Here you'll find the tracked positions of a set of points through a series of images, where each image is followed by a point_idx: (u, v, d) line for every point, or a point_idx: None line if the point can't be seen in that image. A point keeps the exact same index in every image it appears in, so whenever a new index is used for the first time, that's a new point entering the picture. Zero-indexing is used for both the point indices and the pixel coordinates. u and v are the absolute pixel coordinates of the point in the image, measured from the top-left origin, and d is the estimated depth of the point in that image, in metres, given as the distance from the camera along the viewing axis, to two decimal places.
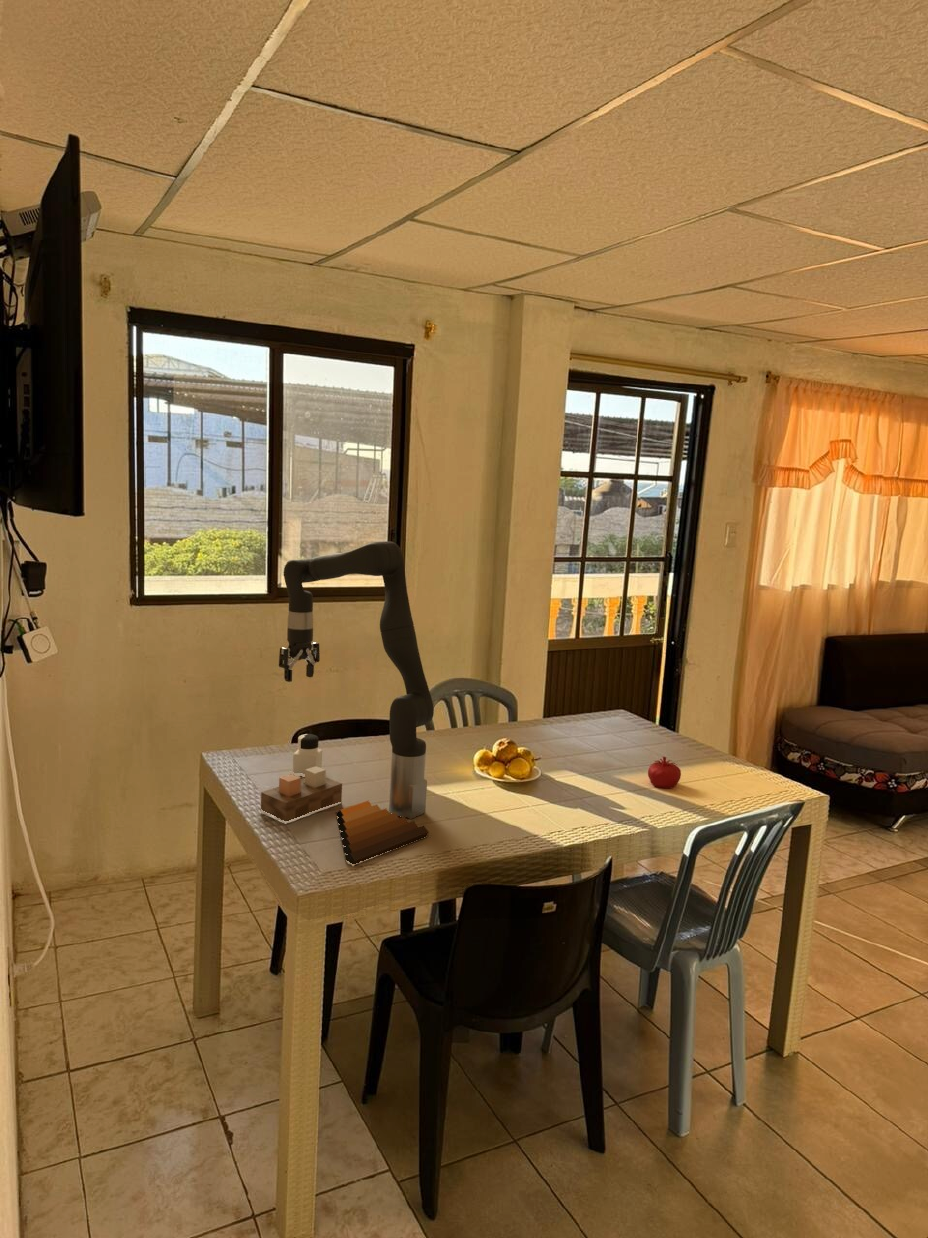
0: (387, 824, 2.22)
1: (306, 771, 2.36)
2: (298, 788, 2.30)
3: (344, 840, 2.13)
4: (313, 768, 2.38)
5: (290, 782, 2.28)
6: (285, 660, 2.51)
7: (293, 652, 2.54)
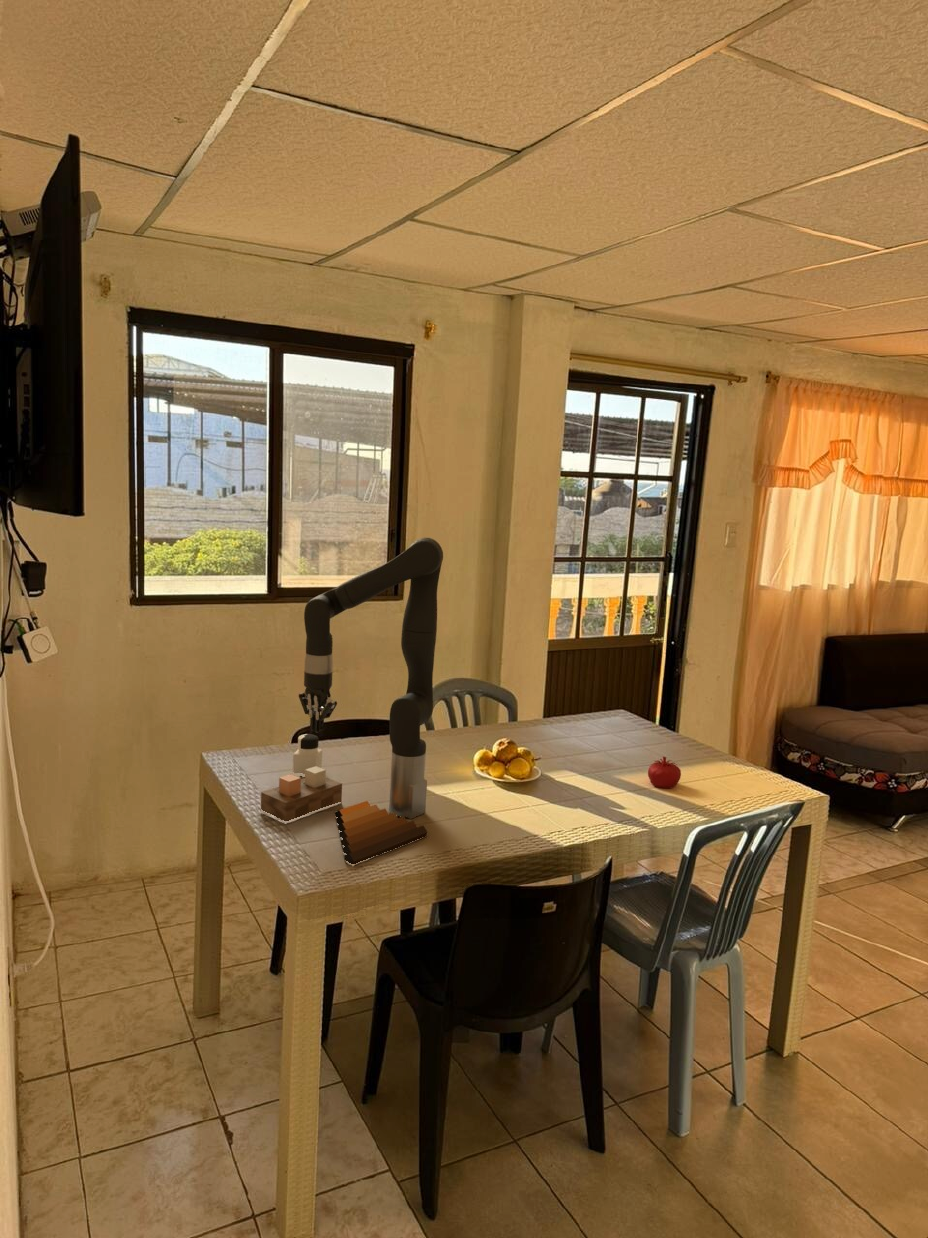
0: (386, 824, 2.22)
1: (306, 771, 2.36)
2: (298, 788, 2.30)
3: (343, 840, 2.13)
4: (313, 768, 2.38)
5: (290, 782, 2.28)
6: None
7: None
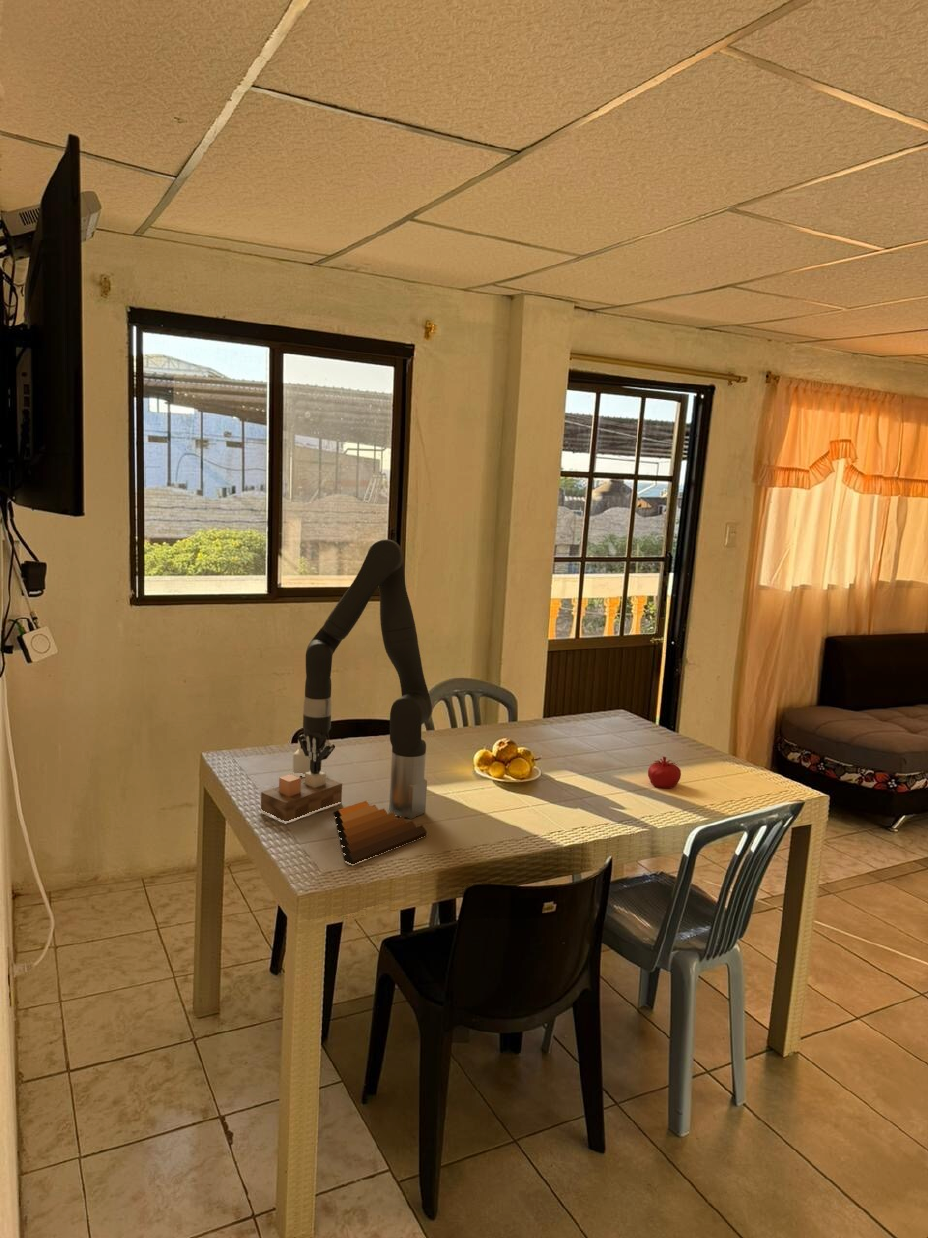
0: (385, 824, 2.22)
1: (306, 774, 2.37)
2: (298, 788, 2.30)
3: (342, 840, 2.13)
4: None
5: (290, 782, 2.28)
6: None
7: None
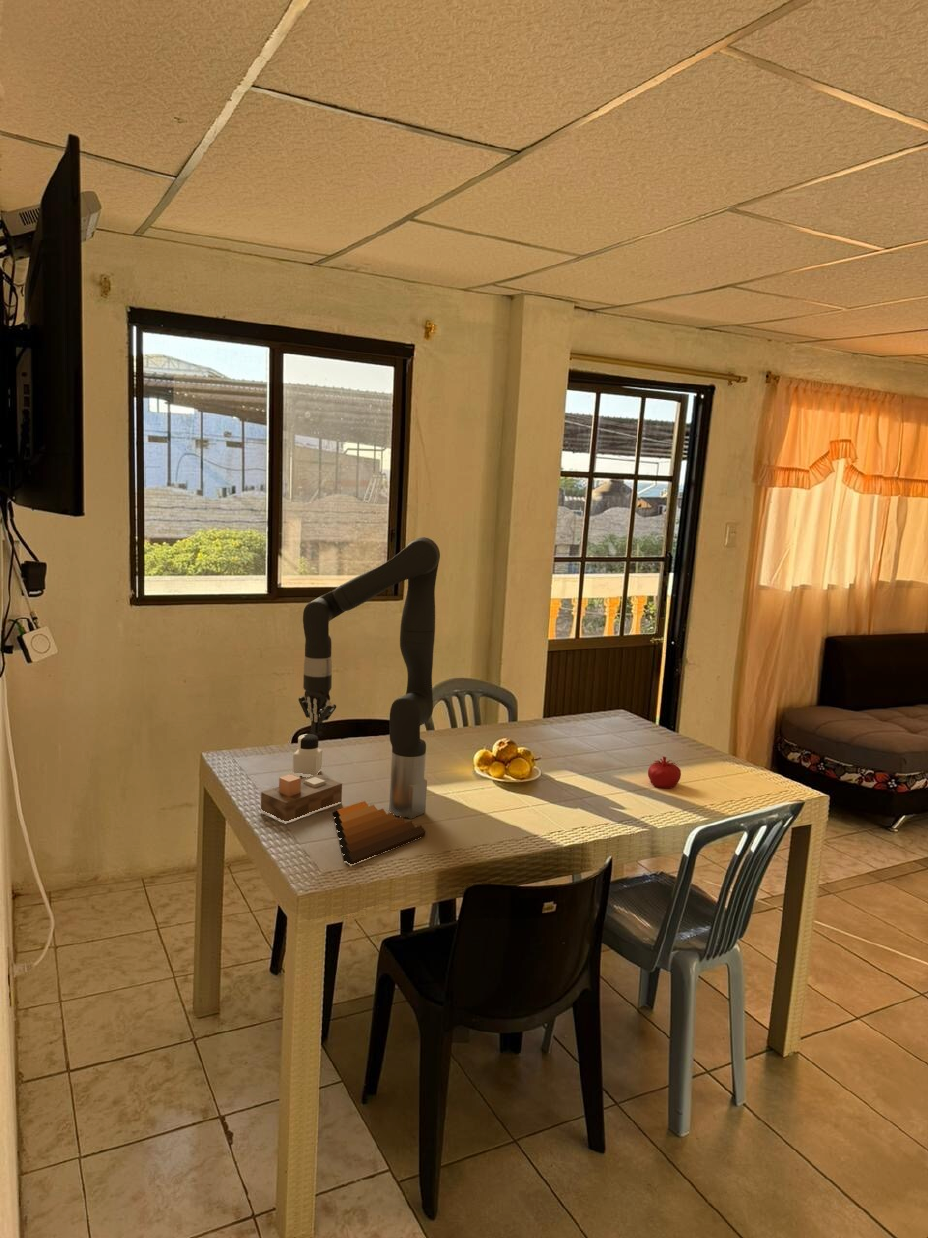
0: (384, 824, 2.22)
1: (306, 782, 2.37)
2: (298, 788, 2.30)
3: (342, 840, 2.13)
4: (313, 779, 2.39)
5: (290, 782, 2.28)
6: None
7: None
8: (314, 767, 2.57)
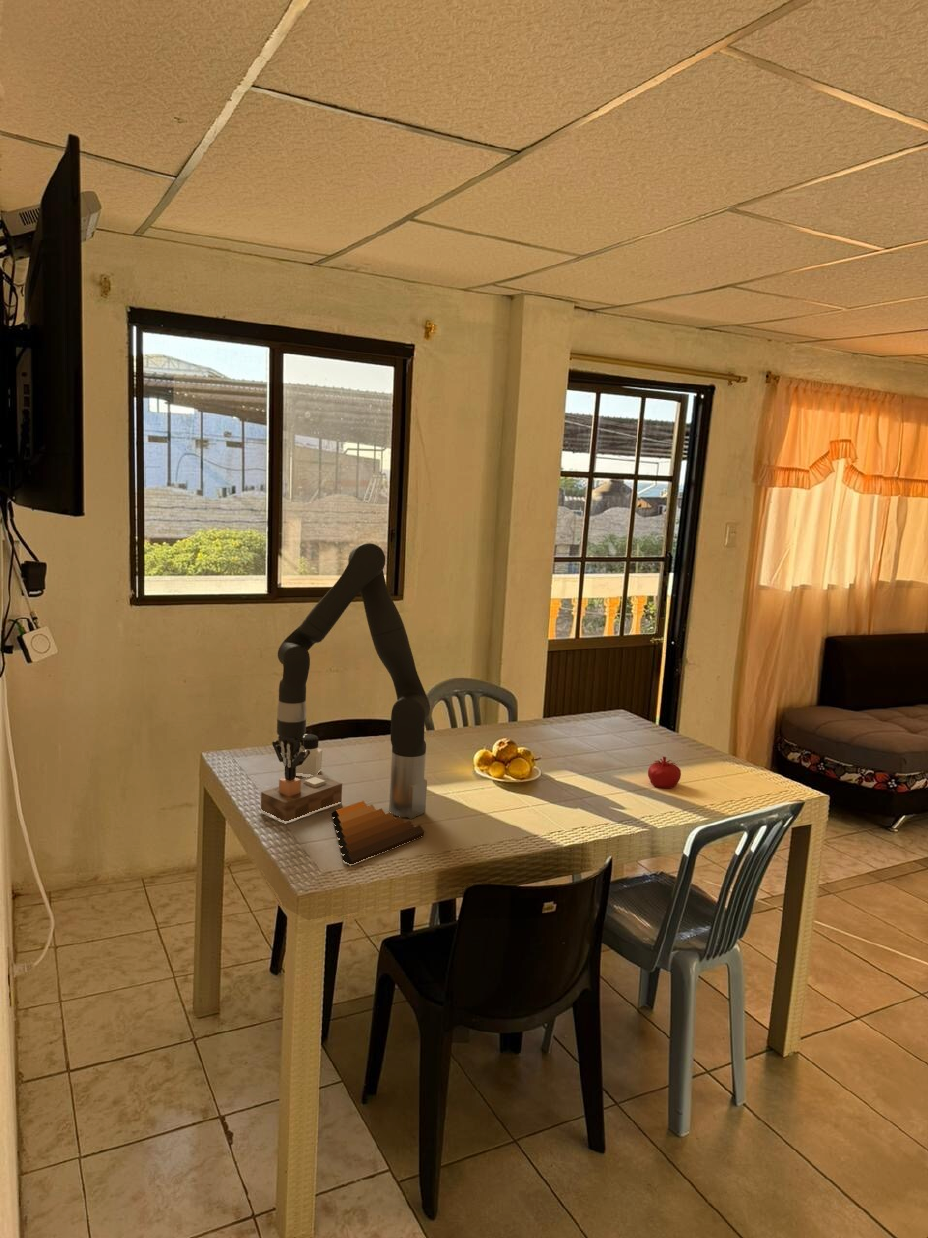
0: (383, 824, 2.22)
1: (306, 782, 2.37)
2: (298, 790, 2.30)
3: (341, 840, 2.13)
4: (313, 779, 2.39)
5: (290, 784, 2.28)
6: None
7: None
8: (314, 767, 2.57)
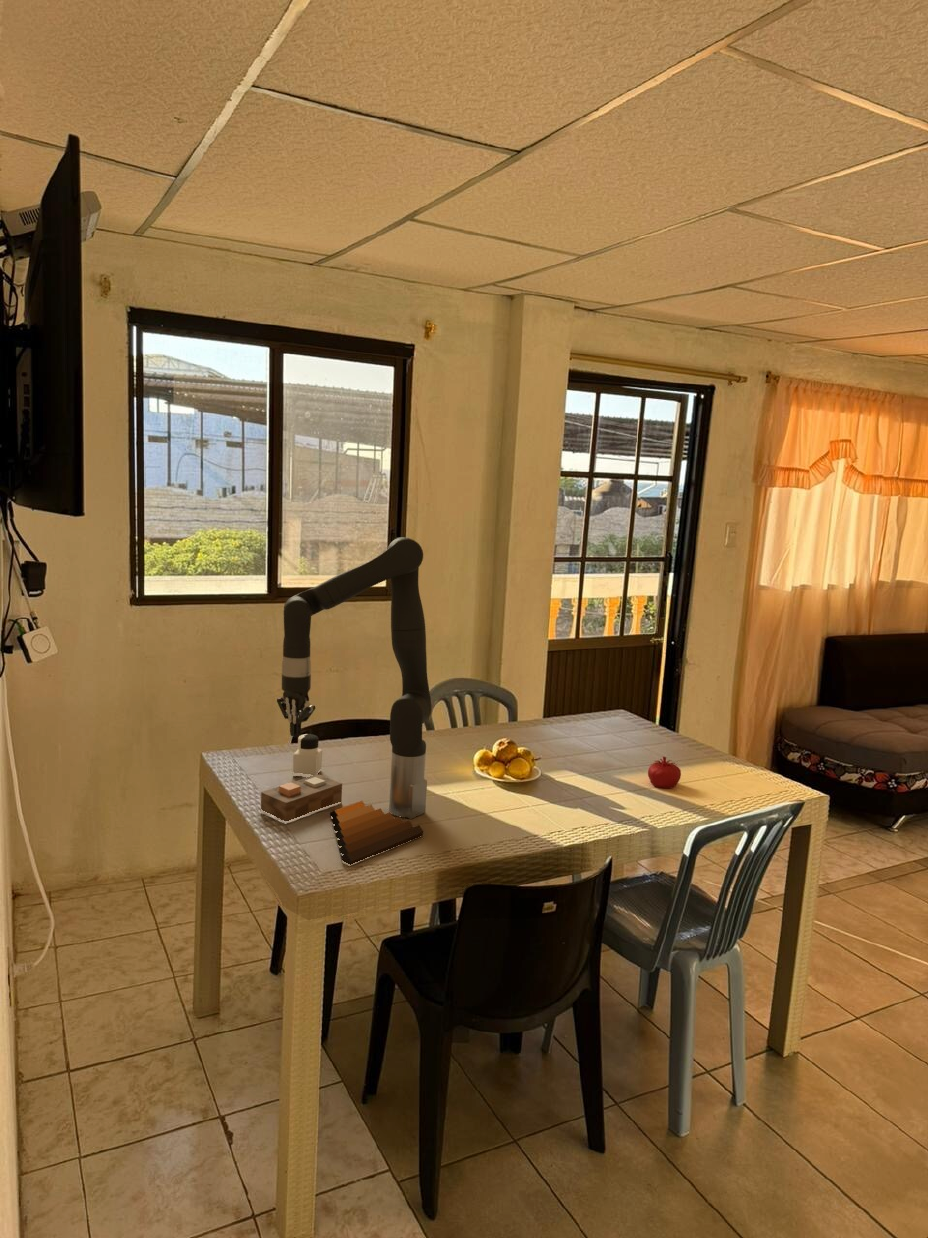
0: (382, 824, 2.22)
1: (306, 782, 2.37)
2: None
3: (340, 840, 2.13)
4: (313, 779, 2.39)
5: (290, 790, 2.28)
6: None
7: None
8: (314, 767, 2.57)
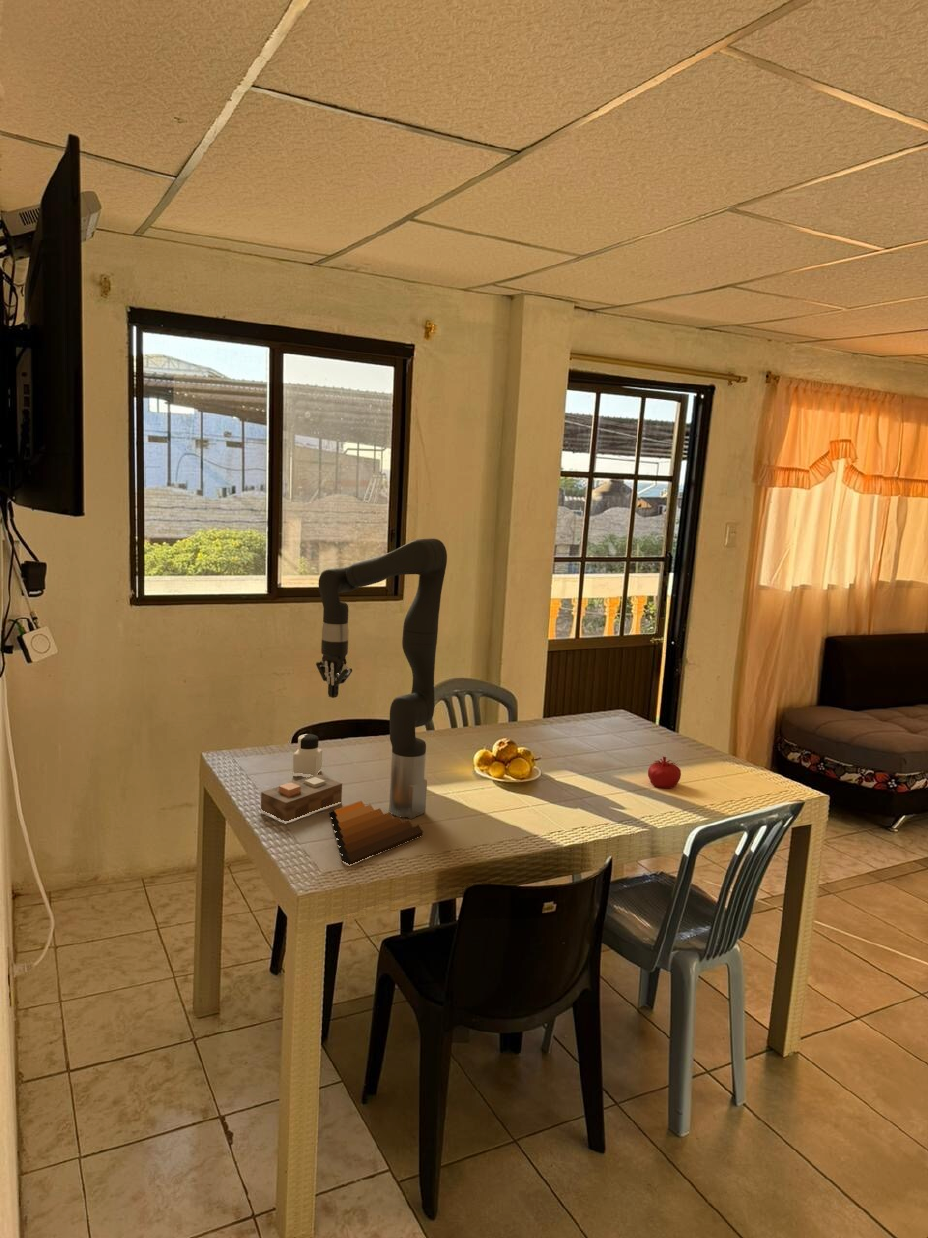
0: (381, 824, 2.22)
1: (306, 782, 2.37)
2: None
3: (339, 840, 2.13)
4: (313, 779, 2.39)
5: (290, 790, 2.28)
6: None
7: None
8: (314, 767, 2.57)
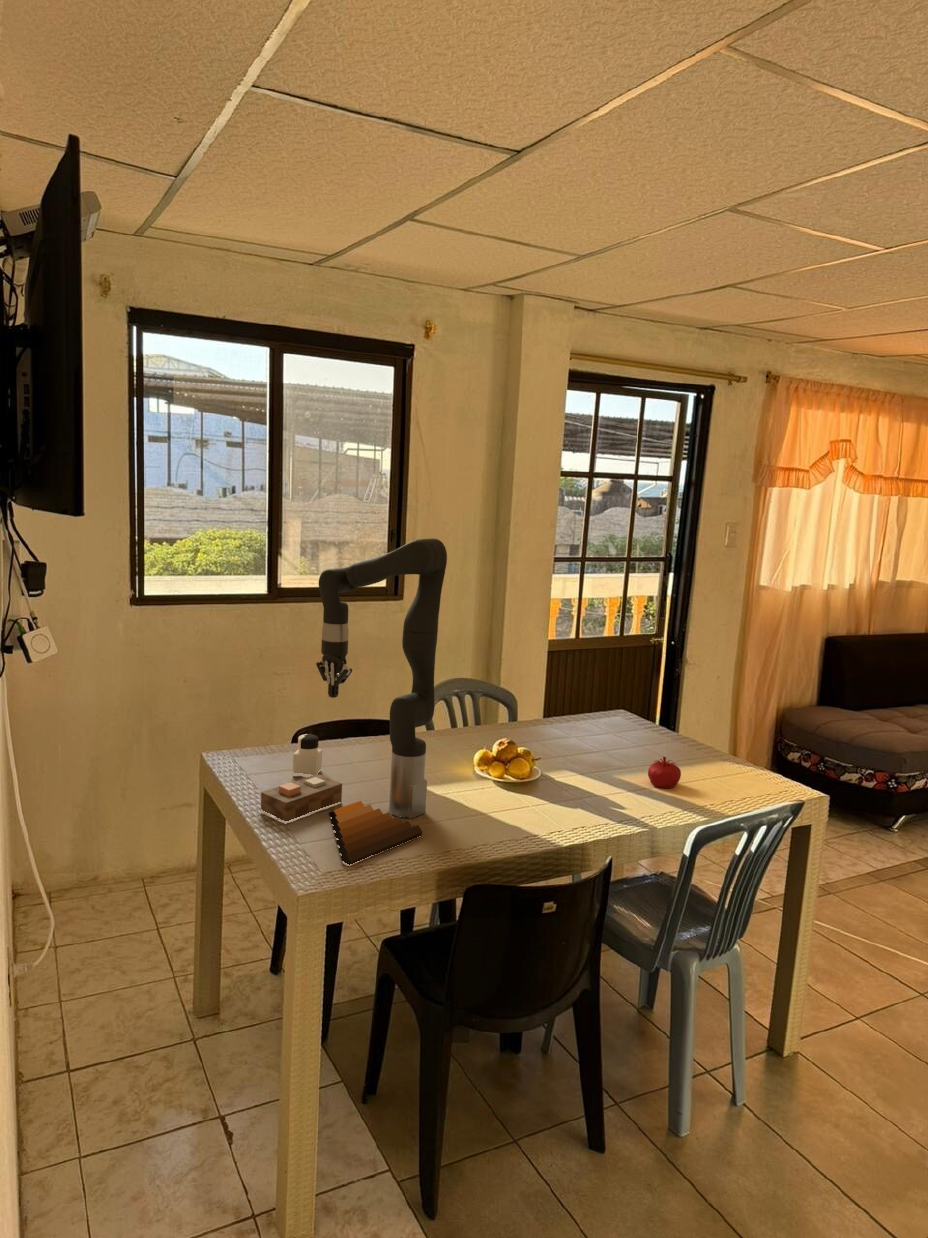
0: (381, 824, 2.22)
1: (306, 782, 2.37)
2: None
3: (339, 841, 2.13)
4: (313, 779, 2.39)
5: (290, 790, 2.28)
6: None
7: None
8: (314, 767, 2.57)
